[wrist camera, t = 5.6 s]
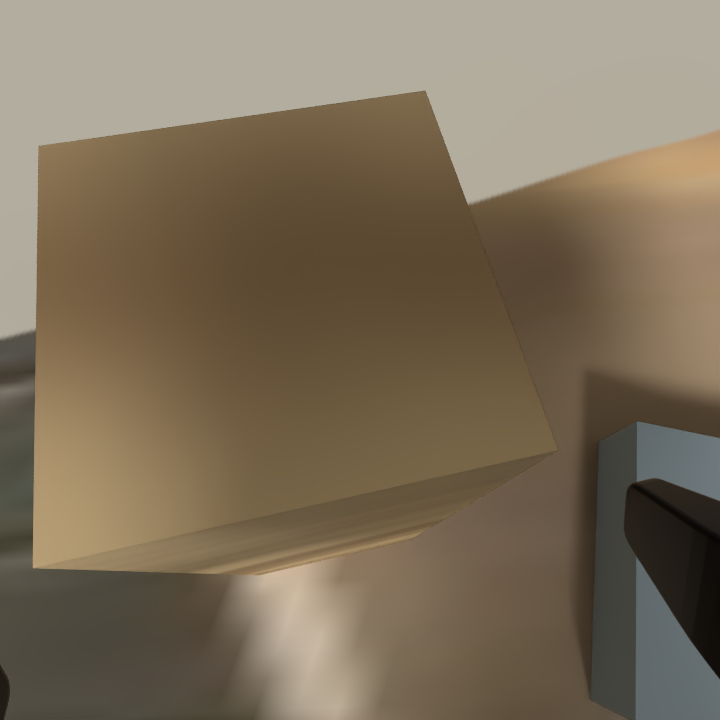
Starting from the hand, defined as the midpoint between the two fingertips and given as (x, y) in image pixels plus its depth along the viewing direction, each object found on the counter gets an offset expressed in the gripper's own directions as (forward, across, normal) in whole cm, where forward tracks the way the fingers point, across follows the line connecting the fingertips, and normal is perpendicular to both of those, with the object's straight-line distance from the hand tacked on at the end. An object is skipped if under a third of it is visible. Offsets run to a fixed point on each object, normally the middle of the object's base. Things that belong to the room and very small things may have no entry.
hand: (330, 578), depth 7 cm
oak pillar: (+9, 0, +5) cm, 11 cm away
